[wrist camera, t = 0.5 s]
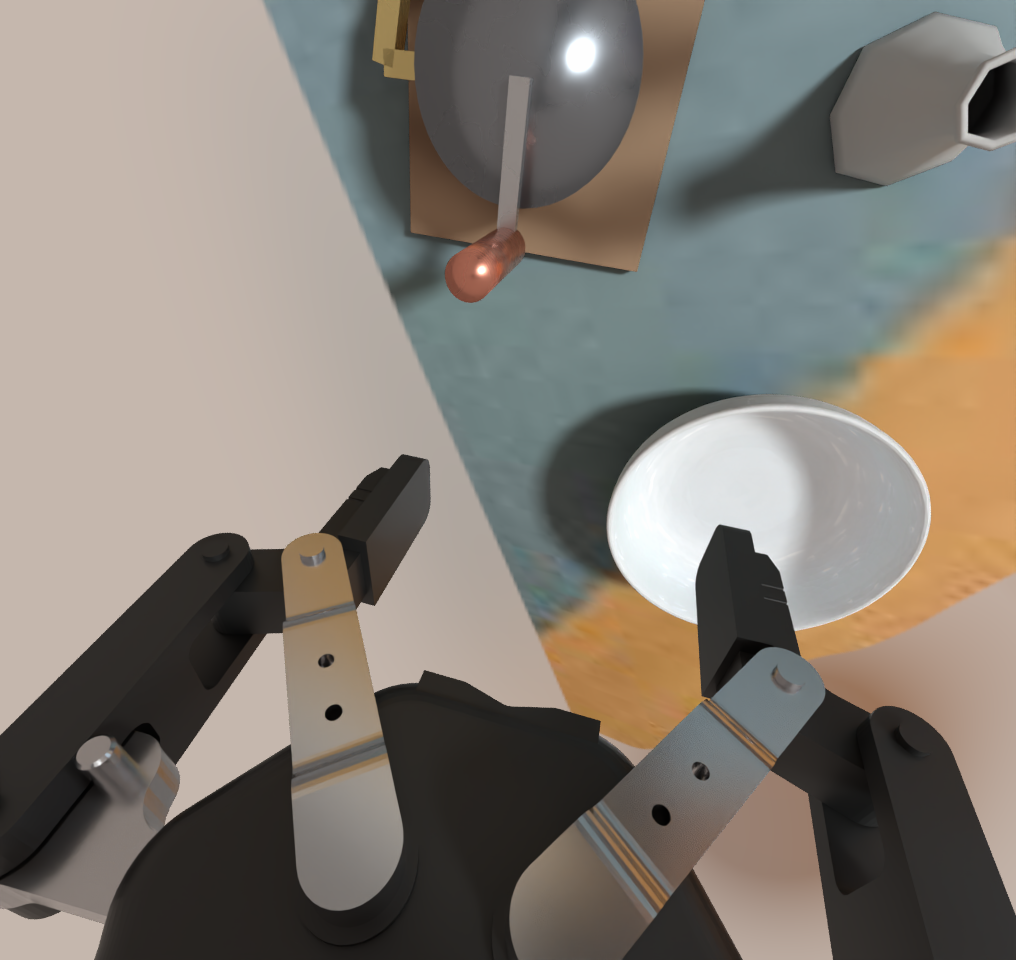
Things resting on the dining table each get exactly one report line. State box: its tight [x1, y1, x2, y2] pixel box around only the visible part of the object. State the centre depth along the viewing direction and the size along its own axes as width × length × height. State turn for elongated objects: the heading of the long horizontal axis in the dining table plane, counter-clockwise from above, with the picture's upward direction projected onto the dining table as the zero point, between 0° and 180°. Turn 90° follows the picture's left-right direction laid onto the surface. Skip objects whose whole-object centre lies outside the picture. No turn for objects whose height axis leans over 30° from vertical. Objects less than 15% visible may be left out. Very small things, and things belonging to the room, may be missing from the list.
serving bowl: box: [606, 394, 931, 631], centre depth 38 cm, size 21×21×7 cm
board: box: [408, 0, 705, 272], centre depth 28 cm, size 22×16×1 cm
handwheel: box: [372, 0, 644, 303], centre depth 23 cm, size 18×15×13 cm
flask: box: [830, 12, 1016, 186], centre depth 22 cm, size 7×7×10 cm
